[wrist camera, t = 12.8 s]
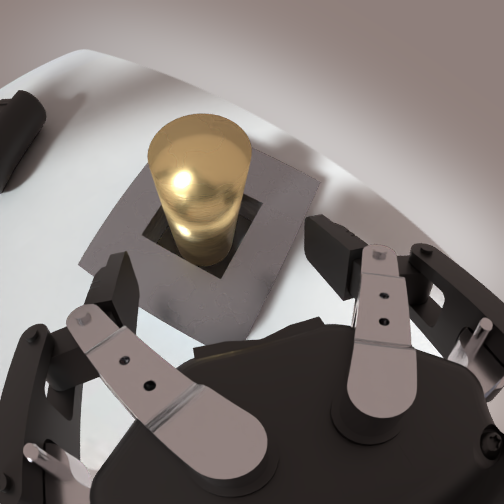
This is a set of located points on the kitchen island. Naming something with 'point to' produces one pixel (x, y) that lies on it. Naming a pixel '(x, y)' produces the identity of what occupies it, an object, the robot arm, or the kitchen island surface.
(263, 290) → the jig
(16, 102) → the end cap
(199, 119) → the gold cylinder
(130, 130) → the kitchen island surface
